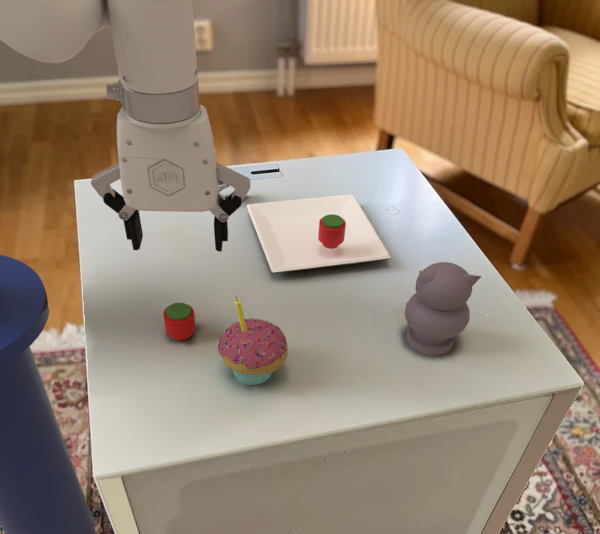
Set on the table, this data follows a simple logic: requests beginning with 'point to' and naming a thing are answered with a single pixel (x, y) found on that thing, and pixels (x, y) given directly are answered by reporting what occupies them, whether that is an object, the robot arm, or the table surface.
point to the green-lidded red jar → (179, 321)
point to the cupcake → (252, 348)
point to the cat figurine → (438, 308)
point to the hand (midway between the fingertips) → (179, 244)
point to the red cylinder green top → (331, 231)
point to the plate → (314, 233)
